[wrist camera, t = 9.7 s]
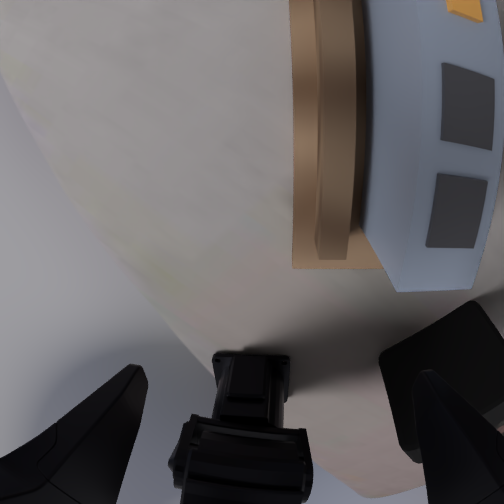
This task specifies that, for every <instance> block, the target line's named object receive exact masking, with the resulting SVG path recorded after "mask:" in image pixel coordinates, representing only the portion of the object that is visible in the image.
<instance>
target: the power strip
mask: <svg viewBox="0 0 504 504" xmlns="http://www.w3.org/2000/svg"><path fill="white" fill-rule="evenodd" d="M361 2H362V12H363V24H364V39H365V59H366V139H365V161H364V177H363V190H362V201H361V212H360V222H359V226H360V228H361V229H362V231H363V233H364V234H365V236H366V238H367V239H368V241H369V243H370V244H371V246H372V248H373V250H374V251H375V253H376V255H377V257H378V259H379V260H380V262H381V264H382V266H383V268H384V269H385V271H386V273H387V275H388V277H389V279H390V281H391V282H392V284H393V286H394V288H395V290H396V292H417V291H441V290H461V289H472V286H473V283H474V280H475V277H476V274H477V271H478V268H479V265H480V261H481V258H482V255H483V251H484V248H485V244H486V240H487V236H488V232H489V228H490V224H491V220H492V215H493V211H494V206H495V201H496V195H497V190H498V184H499V177H500V170H501V162H502V154H503V143H504V52H503V43H502V34H501V27H500V21H499V15H498V9H497V4H496V0H361Z"/></svg>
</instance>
